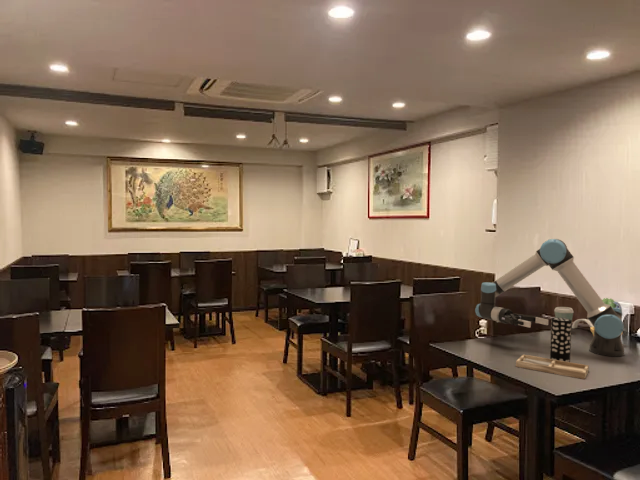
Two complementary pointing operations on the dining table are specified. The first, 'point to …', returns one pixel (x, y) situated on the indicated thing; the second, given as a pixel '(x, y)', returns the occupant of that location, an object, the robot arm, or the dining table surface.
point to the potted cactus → (612, 304)
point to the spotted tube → (560, 339)
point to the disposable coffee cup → (564, 312)
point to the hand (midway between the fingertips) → (539, 323)
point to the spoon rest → (581, 320)
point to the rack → (553, 366)
